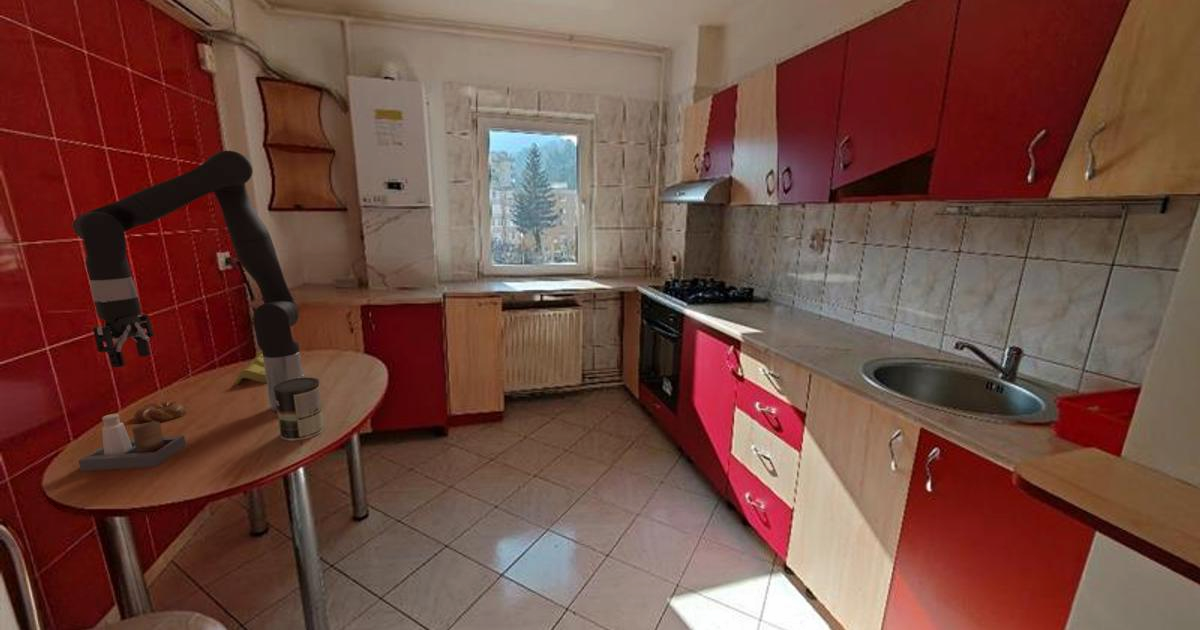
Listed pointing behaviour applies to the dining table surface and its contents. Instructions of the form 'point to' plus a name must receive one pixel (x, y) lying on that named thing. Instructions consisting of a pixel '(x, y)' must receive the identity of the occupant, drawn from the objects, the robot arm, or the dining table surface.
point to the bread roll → (160, 412)
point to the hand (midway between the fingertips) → (132, 361)
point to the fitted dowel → (148, 437)
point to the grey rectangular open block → (132, 456)
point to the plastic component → (254, 370)
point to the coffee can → (299, 408)
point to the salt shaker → (114, 435)
